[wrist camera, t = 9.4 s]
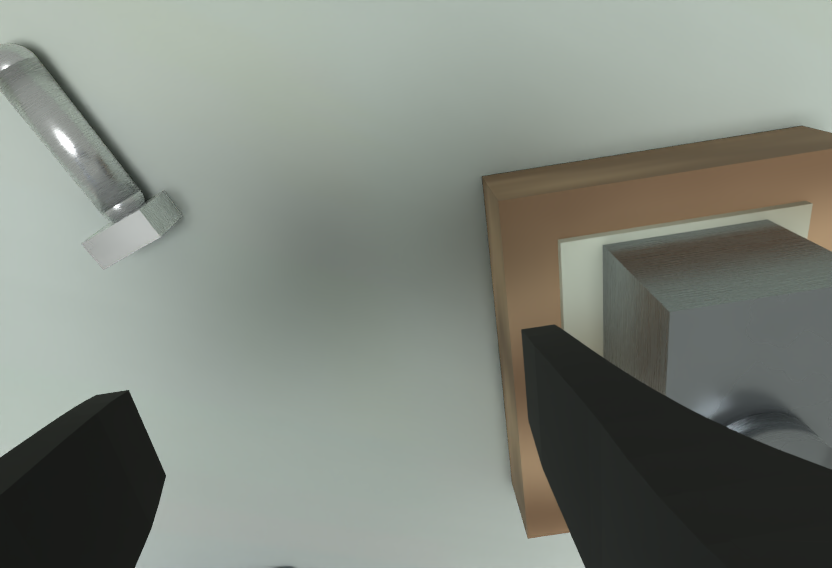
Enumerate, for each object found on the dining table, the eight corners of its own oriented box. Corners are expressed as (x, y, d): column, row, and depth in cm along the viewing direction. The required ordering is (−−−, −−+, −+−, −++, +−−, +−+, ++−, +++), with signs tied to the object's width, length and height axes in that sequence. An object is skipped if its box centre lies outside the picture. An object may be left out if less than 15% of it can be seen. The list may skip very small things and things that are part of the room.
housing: (736, 471, 21) (843, 605, 16) (604, 491, 21) (671, 631, 16) (767, 219, 17) (923, 298, 12) (602, 244, 17) (691, 333, 12)
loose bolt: (183, 215, 19) (160, 237, 17) (131, 245, 20) (103, 269, 18) (40, 26, 17) (-6, 26, 15) (-17, 64, 17) (-70, 69, 15)
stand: (757, 445, 25) (808, 502, 22) (512, 483, 25) (529, 544, 22) (801, 126, 19) (879, 144, 16) (482, 176, 19) (500, 204, 16)
